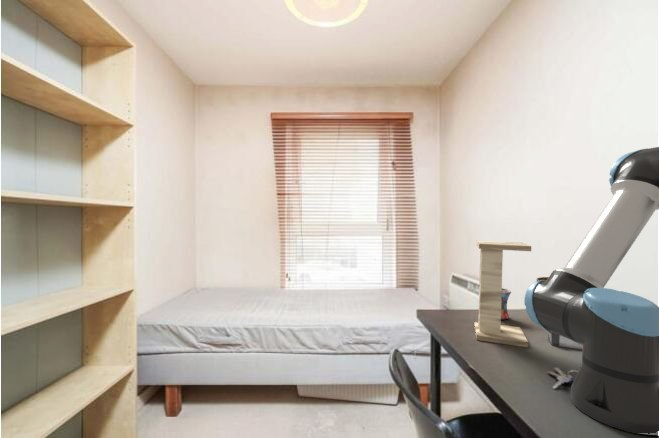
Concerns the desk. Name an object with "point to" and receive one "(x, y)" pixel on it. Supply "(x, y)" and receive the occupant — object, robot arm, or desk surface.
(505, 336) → the birch stand
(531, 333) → the desk surface
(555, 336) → the metal block
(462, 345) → the desk surface
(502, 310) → the multicoloured narrow piece
